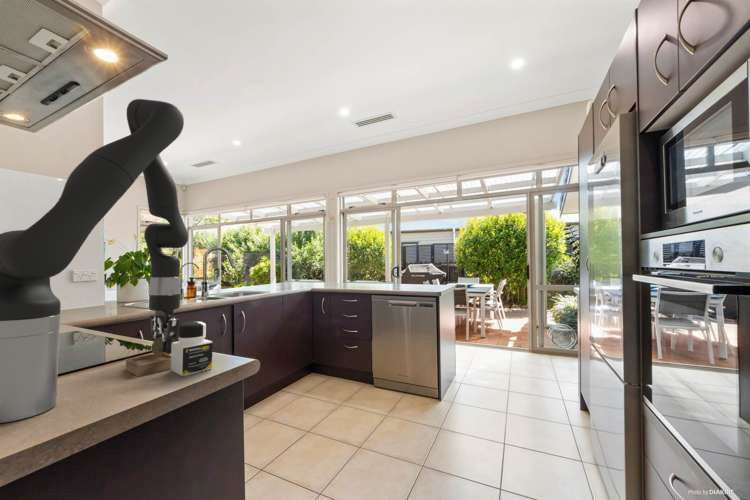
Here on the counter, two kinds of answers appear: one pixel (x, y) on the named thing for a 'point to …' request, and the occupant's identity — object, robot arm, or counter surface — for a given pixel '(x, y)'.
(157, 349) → the lime
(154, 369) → the base
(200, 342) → the medicine bottle
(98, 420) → the counter surface
